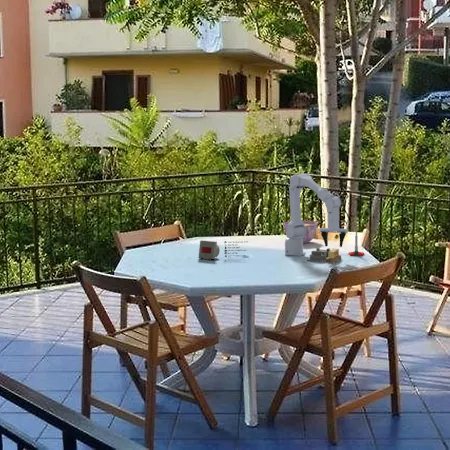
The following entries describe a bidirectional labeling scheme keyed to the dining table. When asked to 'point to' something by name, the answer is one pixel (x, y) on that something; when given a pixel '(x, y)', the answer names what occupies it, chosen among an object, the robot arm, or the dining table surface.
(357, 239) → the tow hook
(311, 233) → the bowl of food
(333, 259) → the block
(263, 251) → the dining table surface
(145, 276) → the dining table surface
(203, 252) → the voltmeter
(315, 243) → the dining table surface
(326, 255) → the grey stepped metal block
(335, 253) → the link bar
